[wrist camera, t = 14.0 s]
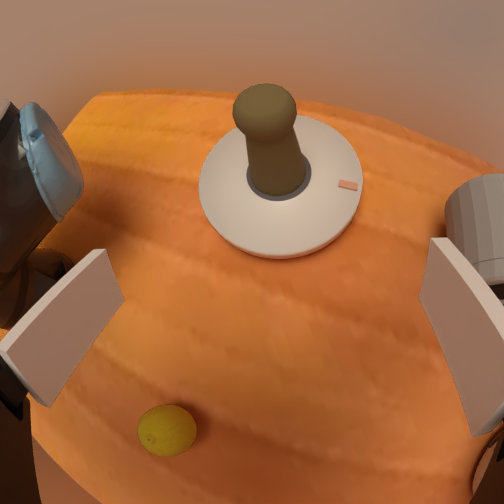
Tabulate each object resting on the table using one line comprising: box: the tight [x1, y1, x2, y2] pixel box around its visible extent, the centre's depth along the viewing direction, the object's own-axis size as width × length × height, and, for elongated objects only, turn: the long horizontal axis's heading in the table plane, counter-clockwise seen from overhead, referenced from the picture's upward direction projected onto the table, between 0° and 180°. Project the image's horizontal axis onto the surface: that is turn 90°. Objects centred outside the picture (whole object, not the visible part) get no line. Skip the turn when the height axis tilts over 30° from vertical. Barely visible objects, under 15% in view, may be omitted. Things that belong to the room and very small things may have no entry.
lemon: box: [137, 404, 197, 457], centre depth 24 cm, size 6×6×8 cm
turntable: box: [199, 115, 363, 259], centre depth 31 cm, size 18×18×2 cm
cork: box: [233, 84, 306, 196], centre depth 25 cm, size 6×6×11 cm
